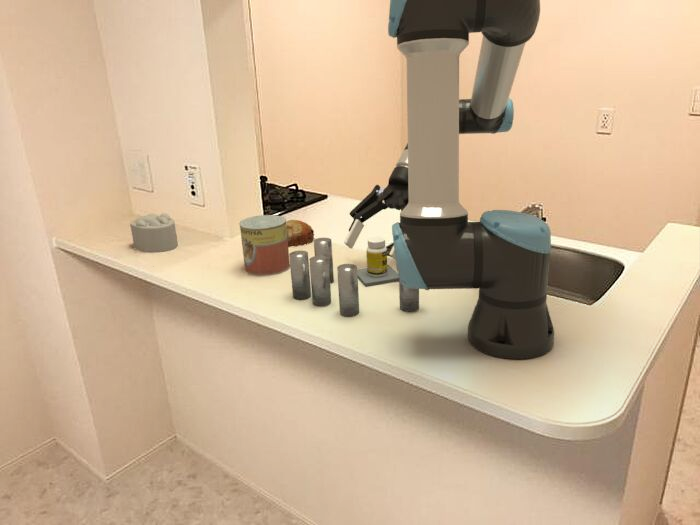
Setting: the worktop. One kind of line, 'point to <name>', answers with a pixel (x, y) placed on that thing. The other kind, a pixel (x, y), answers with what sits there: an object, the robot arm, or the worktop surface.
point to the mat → (370, 281)
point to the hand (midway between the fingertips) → (369, 251)
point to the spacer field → (324, 277)
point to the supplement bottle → (376, 257)
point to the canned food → (265, 245)
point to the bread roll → (298, 233)
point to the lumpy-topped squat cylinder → (154, 233)
